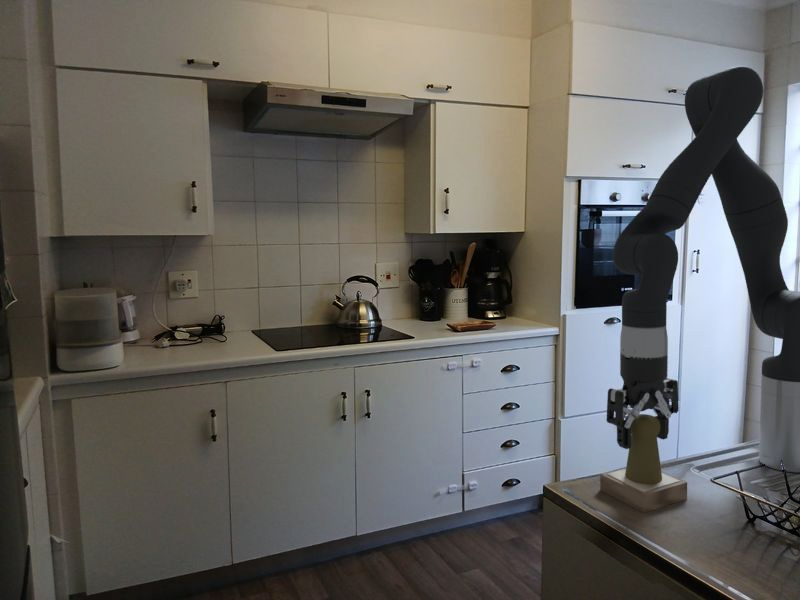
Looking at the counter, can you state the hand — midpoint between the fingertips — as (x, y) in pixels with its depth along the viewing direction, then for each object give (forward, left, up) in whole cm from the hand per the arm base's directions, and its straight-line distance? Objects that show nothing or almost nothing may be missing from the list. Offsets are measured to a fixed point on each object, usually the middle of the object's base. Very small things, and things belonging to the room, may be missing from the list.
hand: (643, 442), depth 106 cm
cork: (0, 0, -6) cm, 6 cm away
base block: (0, 0, -9) cm, 9 cm away
